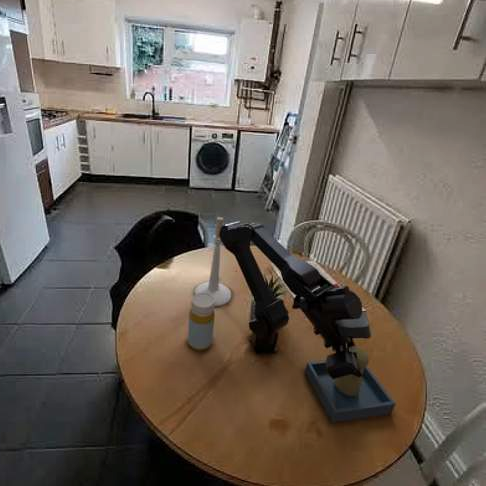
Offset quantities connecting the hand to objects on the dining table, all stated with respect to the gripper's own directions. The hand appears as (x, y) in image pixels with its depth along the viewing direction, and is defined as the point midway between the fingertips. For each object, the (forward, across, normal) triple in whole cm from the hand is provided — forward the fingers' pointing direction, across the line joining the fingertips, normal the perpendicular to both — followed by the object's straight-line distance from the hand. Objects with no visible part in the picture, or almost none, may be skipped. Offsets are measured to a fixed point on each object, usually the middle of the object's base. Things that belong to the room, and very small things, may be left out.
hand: (359, 367), depth 74 cm
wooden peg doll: (+4, 0, +6) cm, 7 cm away
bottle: (-22, 0, +35) cm, 42 cm away
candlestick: (-24, +22, +38) cm, 50 cm away
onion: (+4, +36, +9) cm, 38 cm away
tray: (+5, 0, +7) cm, 9 cm away
